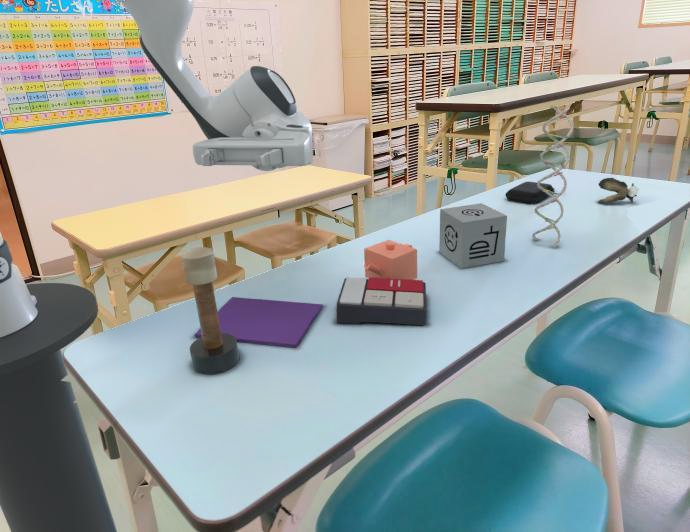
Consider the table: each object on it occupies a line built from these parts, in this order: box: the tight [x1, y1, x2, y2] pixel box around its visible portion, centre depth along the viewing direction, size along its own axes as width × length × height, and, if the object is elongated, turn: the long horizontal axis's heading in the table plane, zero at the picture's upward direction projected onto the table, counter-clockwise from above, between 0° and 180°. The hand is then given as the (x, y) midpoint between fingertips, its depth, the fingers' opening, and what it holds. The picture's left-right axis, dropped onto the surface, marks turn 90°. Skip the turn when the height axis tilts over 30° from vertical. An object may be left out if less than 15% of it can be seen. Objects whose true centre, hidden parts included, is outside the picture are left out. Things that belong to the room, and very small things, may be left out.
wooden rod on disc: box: [180, 246, 240, 375], centre depth 76 cm, size 7×7×18 cm
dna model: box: [531, 104, 574, 249], centre depth 112 cm, size 7×6×30 cm
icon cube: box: [438, 202, 508, 270], centre depth 111 cm, size 10×10×10 cm
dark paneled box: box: [336, 276, 427, 326], centre depth 92 cm, size 11×4×15 cm
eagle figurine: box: [597, 177, 640, 205], centre depth 142 cm, size 8×7×9 cm
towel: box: [194, 296, 323, 348], centre depth 91 cm, size 18×14×1 cm
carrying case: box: [504, 181, 556, 204], centre depth 151 cm, size 11×3×15 cm
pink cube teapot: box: [363, 239, 418, 280], centre depth 101 cm, size 8×12×8 cm, turn 130°
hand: (232, 161), depth 81 cm, fingers open, 8 cm apart
